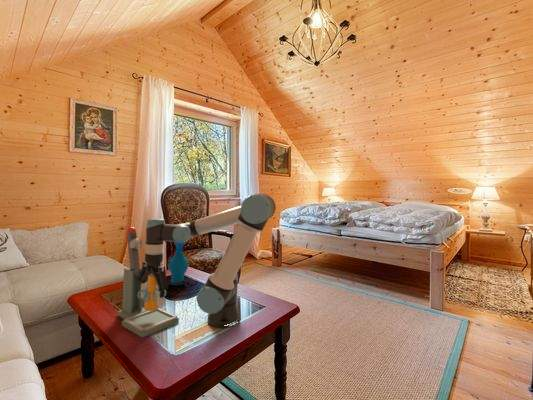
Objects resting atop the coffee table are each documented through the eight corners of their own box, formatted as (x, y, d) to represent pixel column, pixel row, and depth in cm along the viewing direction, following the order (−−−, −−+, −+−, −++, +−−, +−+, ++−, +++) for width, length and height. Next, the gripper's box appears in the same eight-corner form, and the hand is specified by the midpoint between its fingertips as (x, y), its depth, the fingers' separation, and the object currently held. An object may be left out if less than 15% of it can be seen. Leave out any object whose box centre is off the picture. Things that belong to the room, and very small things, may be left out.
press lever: (140, 225, 136) (133, 227, 140) (130, 226, 132) (123, 228, 135) (145, 275, 133) (138, 276, 136) (135, 277, 129) (128, 278, 132)
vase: (163, 283, 181) (165, 240, 181) (178, 279, 192) (180, 238, 192) (176, 287, 175) (178, 243, 175) (191, 282, 186) (193, 240, 185)
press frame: (178, 322, 129) (181, 275, 128) (142, 337, 114) (144, 284, 113) (145, 306, 144) (147, 264, 144) (109, 318, 129) (111, 271, 129)
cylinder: (153, 315, 119) (155, 280, 118) (132, 312, 121) (133, 277, 120) (169, 304, 131) (170, 273, 130) (149, 301, 133) (150, 270, 132)
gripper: (178, 256, 122) (175, 305, 122) (146, 247, 135) (144, 291, 136) (163, 259, 115) (160, 310, 116) (131, 249, 129) (129, 296, 129)
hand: (151, 300), depth 126 cm, fingers closed on cylinder, 12 cm apart
